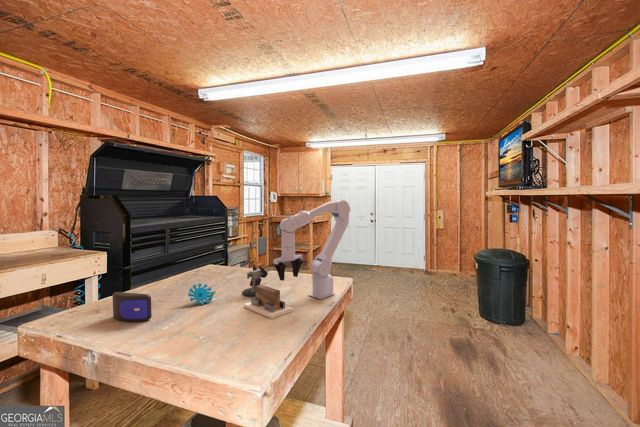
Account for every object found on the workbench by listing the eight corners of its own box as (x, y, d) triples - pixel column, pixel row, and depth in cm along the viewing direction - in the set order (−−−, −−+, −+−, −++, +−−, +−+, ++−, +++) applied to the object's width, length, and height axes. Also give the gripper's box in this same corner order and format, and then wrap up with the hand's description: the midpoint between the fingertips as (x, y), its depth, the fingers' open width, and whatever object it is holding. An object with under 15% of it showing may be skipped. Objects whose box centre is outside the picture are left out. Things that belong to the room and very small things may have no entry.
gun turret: (283, 287, 144) (282, 261, 144) (257, 299, 126) (257, 269, 126) (262, 284, 150) (261, 259, 149) (235, 295, 132) (234, 267, 131)
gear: (189, 304, 116) (188, 282, 122) (186, 311, 119) (184, 290, 125) (217, 302, 122) (215, 281, 128) (213, 309, 125) (211, 289, 131)
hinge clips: (263, 300, 121) (263, 294, 121) (285, 308, 112) (285, 301, 112) (251, 303, 117) (250, 297, 117) (272, 312, 107) (272, 306, 107)
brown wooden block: (263, 301, 120) (262, 284, 120) (281, 308, 112) (281, 290, 112) (255, 303, 117) (255, 286, 117) (274, 310, 109) (274, 292, 109)
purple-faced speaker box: (104, 320, 104) (104, 294, 104) (116, 315, 109) (115, 290, 108) (142, 324, 100) (141, 297, 100) (153, 319, 105) (152, 293, 105)
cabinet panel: (264, 300, 124) (264, 297, 124) (292, 311, 112) (292, 308, 112) (244, 306, 117) (243, 303, 117) (271, 318, 105) (271, 315, 104)
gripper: (294, 243, 132) (295, 273, 133) (268, 247, 121) (269, 280, 122) (305, 245, 127) (305, 276, 128) (279, 249, 117) (280, 283, 117)
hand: (288, 278), depth 124 cm, fingers open, 7 cm apart
